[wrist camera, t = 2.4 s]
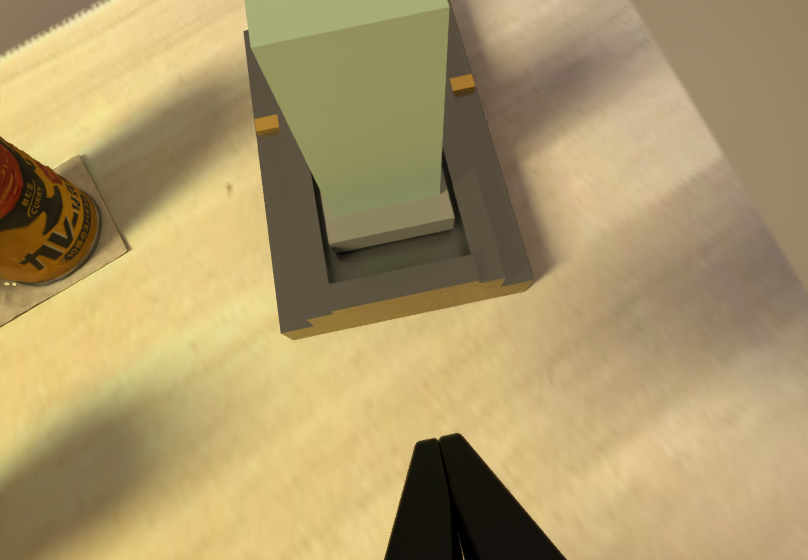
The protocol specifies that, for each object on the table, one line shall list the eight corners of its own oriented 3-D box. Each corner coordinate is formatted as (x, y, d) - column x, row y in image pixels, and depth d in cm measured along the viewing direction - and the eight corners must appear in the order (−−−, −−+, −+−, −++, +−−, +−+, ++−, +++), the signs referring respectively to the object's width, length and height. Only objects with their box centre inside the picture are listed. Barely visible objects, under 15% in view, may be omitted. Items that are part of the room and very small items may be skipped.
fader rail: (525, 291, 23) (544, 266, 19) (293, 339, 23) (265, 325, 19) (445, 18, 28) (447, -45, 24) (256, 57, 28) (228, 0, 24)
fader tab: (452, 228, 22) (477, 43, 11) (334, 253, 21) (239, 92, 11) (430, 140, 23) (432, -102, 12) (319, 163, 23) (222, -59, 12)
